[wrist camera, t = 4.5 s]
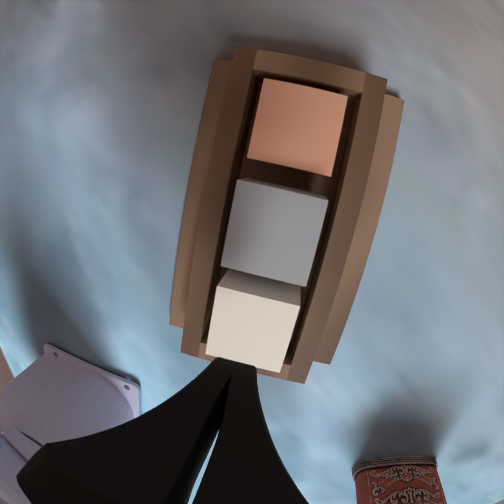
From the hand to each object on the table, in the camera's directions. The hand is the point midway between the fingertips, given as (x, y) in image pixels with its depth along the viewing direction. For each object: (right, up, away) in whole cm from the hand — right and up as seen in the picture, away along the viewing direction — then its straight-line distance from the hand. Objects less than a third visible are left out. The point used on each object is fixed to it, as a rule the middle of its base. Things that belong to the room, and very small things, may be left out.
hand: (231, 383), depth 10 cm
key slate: (+2, +6, +5) cm, 8 cm away
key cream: (+1, +1, +6) cm, 6 cm away
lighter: (+13, -14, +11) cm, 22 cm away
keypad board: (+2, +6, +7) cm, 9 cm away
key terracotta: (+3, +10, +5) cm, 12 cm away
